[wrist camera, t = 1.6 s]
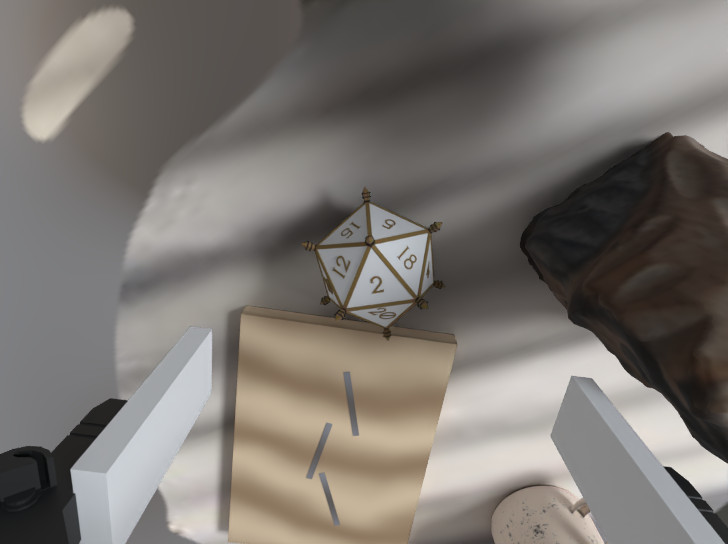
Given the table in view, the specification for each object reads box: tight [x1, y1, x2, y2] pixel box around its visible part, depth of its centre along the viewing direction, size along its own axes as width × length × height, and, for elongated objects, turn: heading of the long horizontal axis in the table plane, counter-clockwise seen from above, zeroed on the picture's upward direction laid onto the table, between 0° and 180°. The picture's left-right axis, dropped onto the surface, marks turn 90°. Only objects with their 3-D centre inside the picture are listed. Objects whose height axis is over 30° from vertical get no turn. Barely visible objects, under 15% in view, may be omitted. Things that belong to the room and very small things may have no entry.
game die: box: [301, 188, 445, 341], centre depth 28 cm, size 9×8×10 cm
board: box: [228, 306, 457, 544], centre depth 37 cm, size 23×16×2 cm
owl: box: [520, 132, 728, 463], centre depth 22 cm, size 13×13×20 cm
